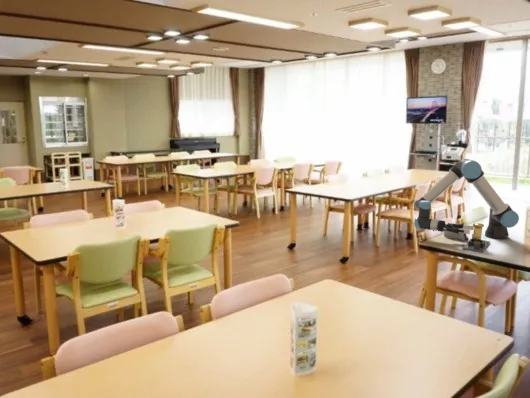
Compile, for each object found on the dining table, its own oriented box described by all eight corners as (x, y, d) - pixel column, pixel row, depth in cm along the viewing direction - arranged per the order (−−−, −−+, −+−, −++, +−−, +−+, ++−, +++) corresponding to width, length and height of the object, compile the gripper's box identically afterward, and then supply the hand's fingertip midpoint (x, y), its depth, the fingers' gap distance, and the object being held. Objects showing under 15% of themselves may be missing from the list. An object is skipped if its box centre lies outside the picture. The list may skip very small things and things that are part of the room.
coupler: (480, 243, 317) (482, 223, 315) (482, 245, 312) (484, 225, 309) (470, 243, 318) (472, 222, 316) (472, 245, 313) (474, 224, 310)
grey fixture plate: (470, 240, 330) (471, 233, 329) (489, 243, 323) (490, 235, 322) (462, 249, 307) (463, 241, 306) (482, 252, 301) (483, 244, 300)
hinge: (468, 239, 333) (467, 226, 329) (464, 242, 331) (462, 229, 327) (448, 234, 347) (446, 221, 343) (444, 237, 345) (442, 224, 341)
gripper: (442, 227, 338) (474, 232, 326) (433, 234, 317) (467, 239, 306) (442, 217, 336) (475, 221, 325) (433, 223, 316) (468, 227, 304)
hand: (471, 230), depth 315 cm, fingers open, 13 cm apart
